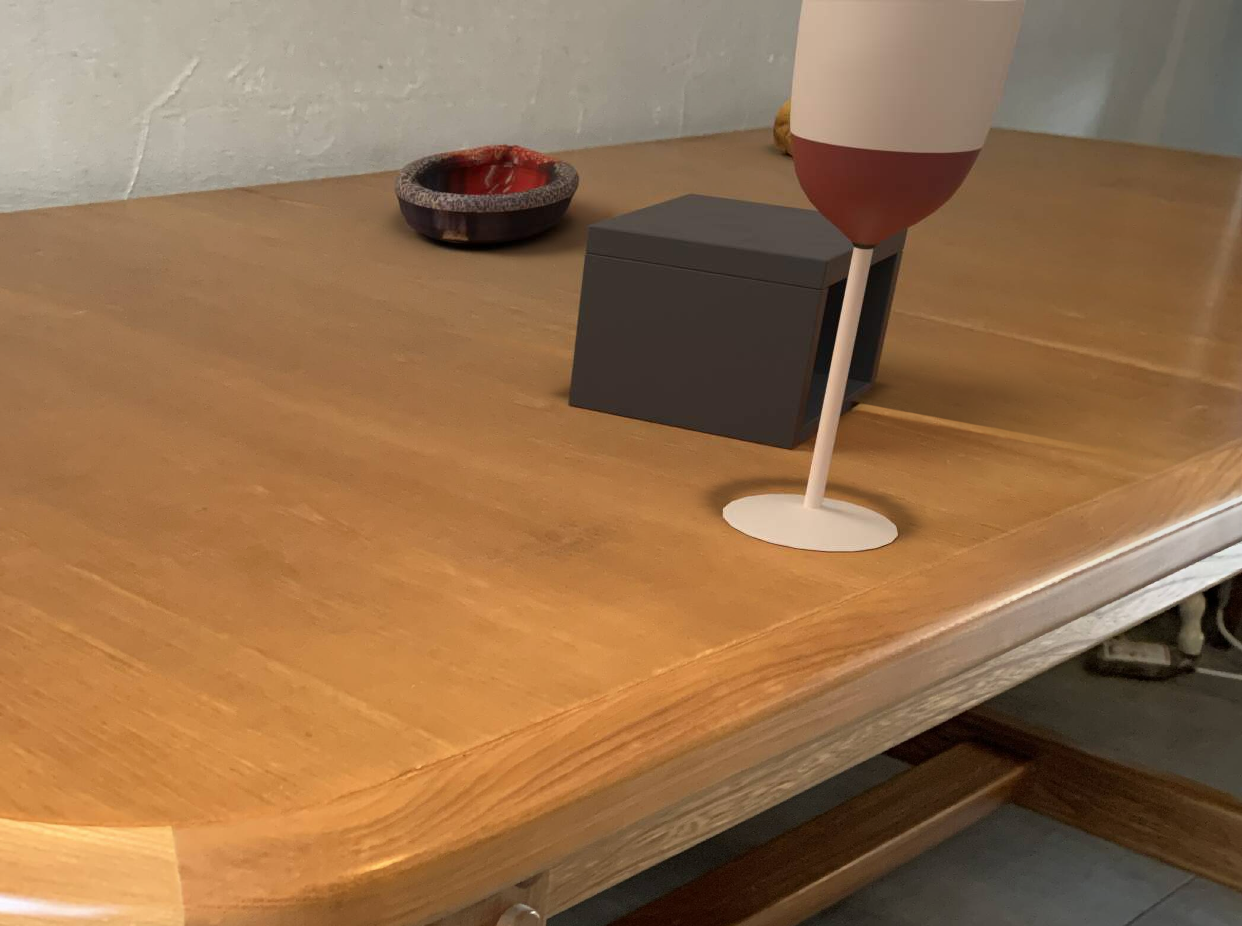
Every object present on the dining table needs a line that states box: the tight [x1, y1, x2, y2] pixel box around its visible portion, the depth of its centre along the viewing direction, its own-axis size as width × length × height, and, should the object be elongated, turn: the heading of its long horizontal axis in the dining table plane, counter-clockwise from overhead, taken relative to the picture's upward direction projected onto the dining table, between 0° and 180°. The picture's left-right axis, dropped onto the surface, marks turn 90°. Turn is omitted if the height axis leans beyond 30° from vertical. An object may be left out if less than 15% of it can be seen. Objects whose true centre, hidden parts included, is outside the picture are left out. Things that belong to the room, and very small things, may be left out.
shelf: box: [568, 193, 909, 450], centre depth 100 cm, size 14×15×10 cm
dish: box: [393, 144, 580, 245], centre depth 148 cm, size 16×31×5 cm, turn 164°
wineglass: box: [722, 0, 1027, 552], centre depth 78 cm, size 9×10×23 cm
